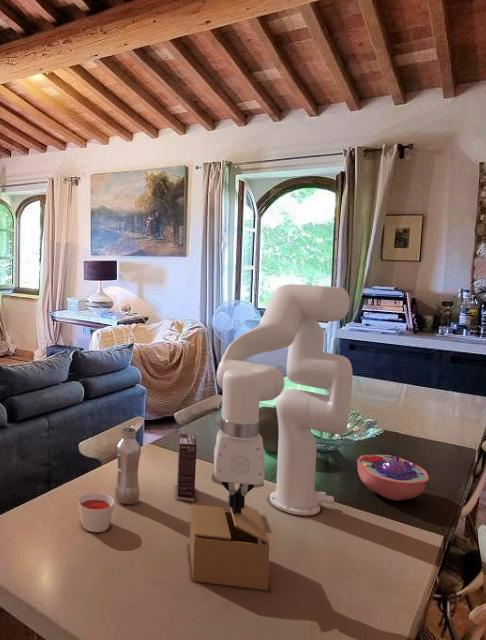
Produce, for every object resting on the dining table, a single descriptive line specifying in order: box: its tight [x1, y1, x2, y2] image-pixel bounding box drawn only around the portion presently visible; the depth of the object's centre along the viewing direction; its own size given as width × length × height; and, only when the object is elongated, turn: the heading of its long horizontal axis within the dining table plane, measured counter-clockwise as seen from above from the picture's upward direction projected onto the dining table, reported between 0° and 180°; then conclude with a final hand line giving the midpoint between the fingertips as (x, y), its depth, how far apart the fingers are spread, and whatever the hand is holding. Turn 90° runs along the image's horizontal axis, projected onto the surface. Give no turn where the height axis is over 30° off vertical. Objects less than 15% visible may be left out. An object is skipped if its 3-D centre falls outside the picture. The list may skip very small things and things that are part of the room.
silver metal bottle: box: [114, 427, 142, 505], centre depth 142 cm, size 6×7×20 cm
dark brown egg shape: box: [258, 406, 279, 453], centre depth 180 cm, size 14×14×15 cm
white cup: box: [77, 491, 115, 533], centre depth 130 cm, size 9×9×6 cm
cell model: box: [356, 453, 430, 502], centre depth 149 cm, size 17×20×11 cm
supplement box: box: [176, 433, 198, 502], centre depth 147 cm, size 9×5×16 cm, turn 168°
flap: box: [226, 495, 270, 544], centre depth 113 cm, size 7×13×1 cm, turn 170°
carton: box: [189, 503, 270, 591], centre depth 114 cm, size 15×13×10 cm
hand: (236, 510), depth 113 cm, fingers closed
